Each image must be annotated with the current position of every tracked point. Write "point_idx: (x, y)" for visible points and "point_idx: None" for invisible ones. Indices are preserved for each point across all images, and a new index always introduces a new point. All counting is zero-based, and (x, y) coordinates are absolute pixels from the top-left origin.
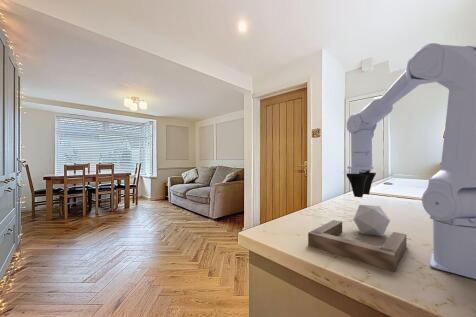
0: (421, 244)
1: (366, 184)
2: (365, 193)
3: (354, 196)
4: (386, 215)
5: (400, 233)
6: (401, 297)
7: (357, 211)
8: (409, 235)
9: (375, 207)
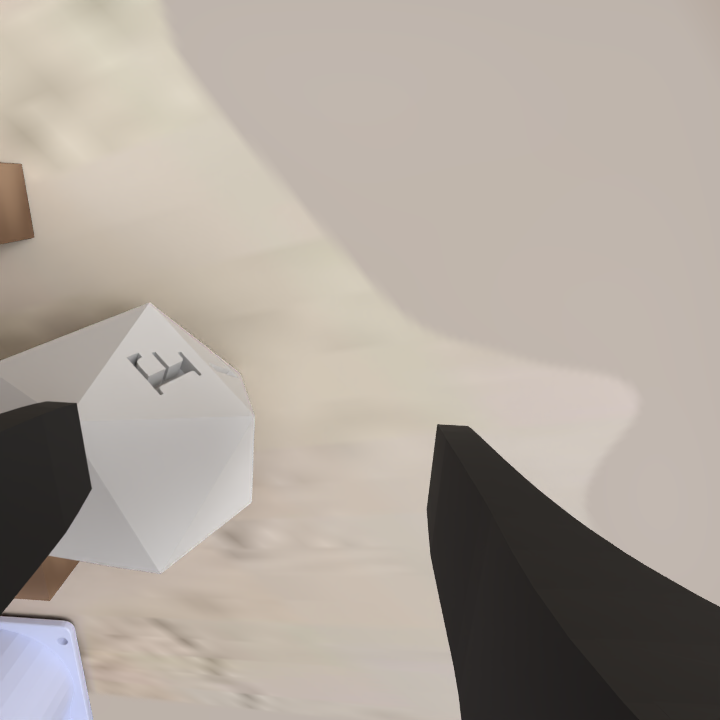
0: (189, 592)
1: (469, 624)
2: (433, 483)
3: (41, 404)
4: (130, 569)
5: (37, 580)
6: None
7: (17, 391)
8: (309, 554)
9: (56, 555)
